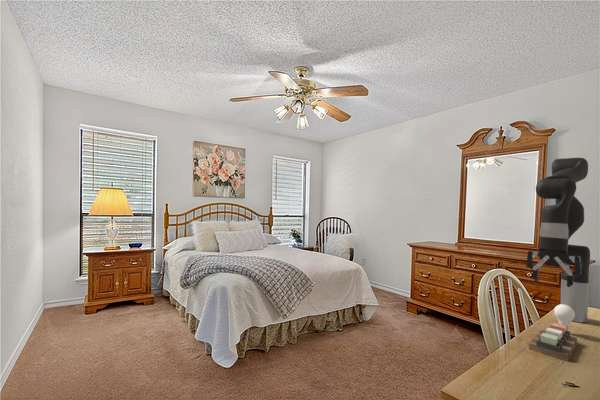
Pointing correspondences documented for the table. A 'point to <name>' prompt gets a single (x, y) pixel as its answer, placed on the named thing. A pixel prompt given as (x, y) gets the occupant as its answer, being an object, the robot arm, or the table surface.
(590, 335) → the table surface
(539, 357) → the table surface
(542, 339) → the sage button
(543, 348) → the button board
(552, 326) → the terracotta button
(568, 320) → the lightbulb
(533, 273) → the robot arm
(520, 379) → the table surface
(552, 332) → the offwhite button
